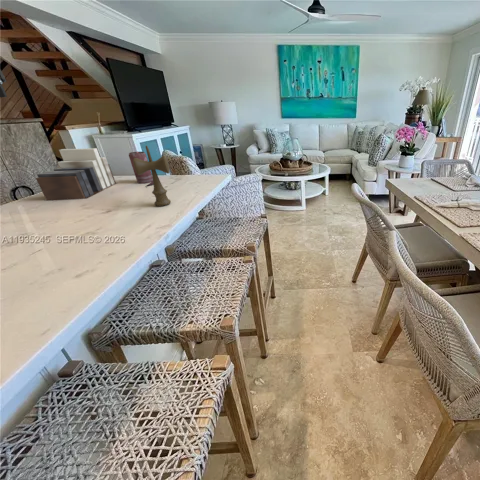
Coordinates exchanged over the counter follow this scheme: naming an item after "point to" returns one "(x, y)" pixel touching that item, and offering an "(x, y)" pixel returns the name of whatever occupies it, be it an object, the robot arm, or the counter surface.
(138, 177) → the can
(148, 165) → the kendama
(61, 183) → the book rack
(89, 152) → the cream book
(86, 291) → the counter surface
